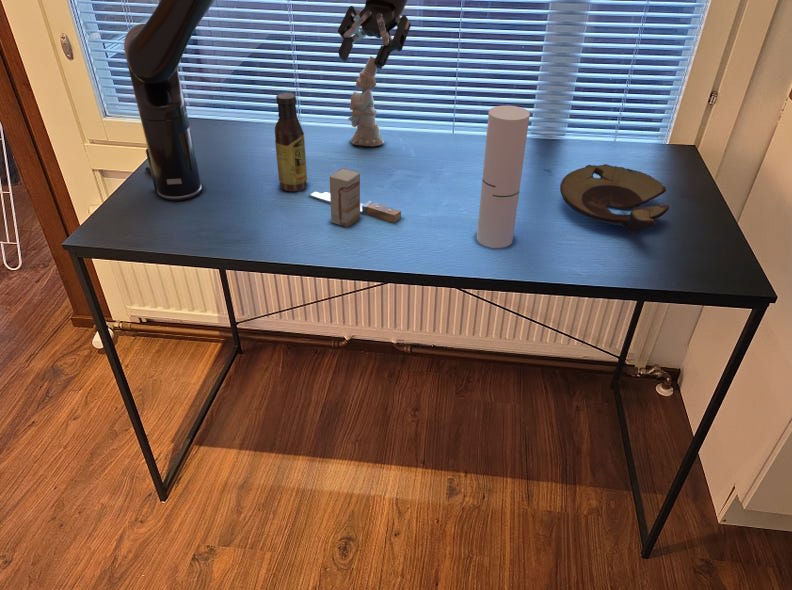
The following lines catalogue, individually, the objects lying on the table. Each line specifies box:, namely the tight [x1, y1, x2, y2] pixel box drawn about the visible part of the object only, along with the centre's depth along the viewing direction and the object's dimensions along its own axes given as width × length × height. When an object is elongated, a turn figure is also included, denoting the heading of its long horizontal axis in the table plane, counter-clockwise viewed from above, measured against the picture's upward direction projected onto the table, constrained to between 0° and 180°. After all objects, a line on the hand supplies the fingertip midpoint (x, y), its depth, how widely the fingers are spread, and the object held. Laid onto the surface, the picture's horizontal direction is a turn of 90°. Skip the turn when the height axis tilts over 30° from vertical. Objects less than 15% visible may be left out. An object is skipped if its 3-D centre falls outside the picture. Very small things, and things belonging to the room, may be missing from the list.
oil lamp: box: [559, 163, 670, 234], centre depth 137 cm, size 22×30×8 cm
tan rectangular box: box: [329, 167, 361, 228], centre depth 134 cm, size 5×4×10 cm
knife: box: [309, 191, 402, 224], centre depth 141 cm, size 22×3×2 cm, turn 57°
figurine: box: [347, 56, 385, 147], centre depth 162 cm, size 9×8×20 cm
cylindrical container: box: [476, 105, 531, 249], centre depth 124 cm, size 7×7×25 cm
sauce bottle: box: [274, 92, 308, 193], centre depth 142 cm, size 7×6×20 cm
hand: (359, 62), depth 131 cm, fingers open, 8 cm apart
